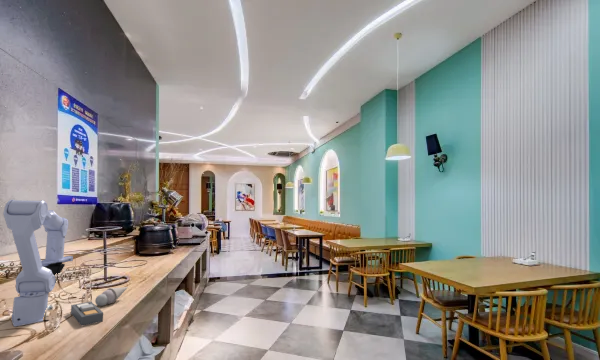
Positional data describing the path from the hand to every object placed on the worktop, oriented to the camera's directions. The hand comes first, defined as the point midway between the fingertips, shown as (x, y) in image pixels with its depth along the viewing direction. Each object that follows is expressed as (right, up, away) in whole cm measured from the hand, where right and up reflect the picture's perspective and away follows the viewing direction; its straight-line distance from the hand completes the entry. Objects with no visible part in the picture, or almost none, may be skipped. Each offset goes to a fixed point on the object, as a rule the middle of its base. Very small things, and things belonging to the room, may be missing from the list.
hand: (52, 282), depth 127 cm
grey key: (+20, -7, -10) cm, 23 cm away
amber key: (+23, -7, -13) cm, 28 cm away
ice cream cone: (+19, -11, +8) cm, 23 cm away
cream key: (+16, -8, -6) cm, 19 cm away
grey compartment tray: (+20, -9, -10) cm, 24 cm away
